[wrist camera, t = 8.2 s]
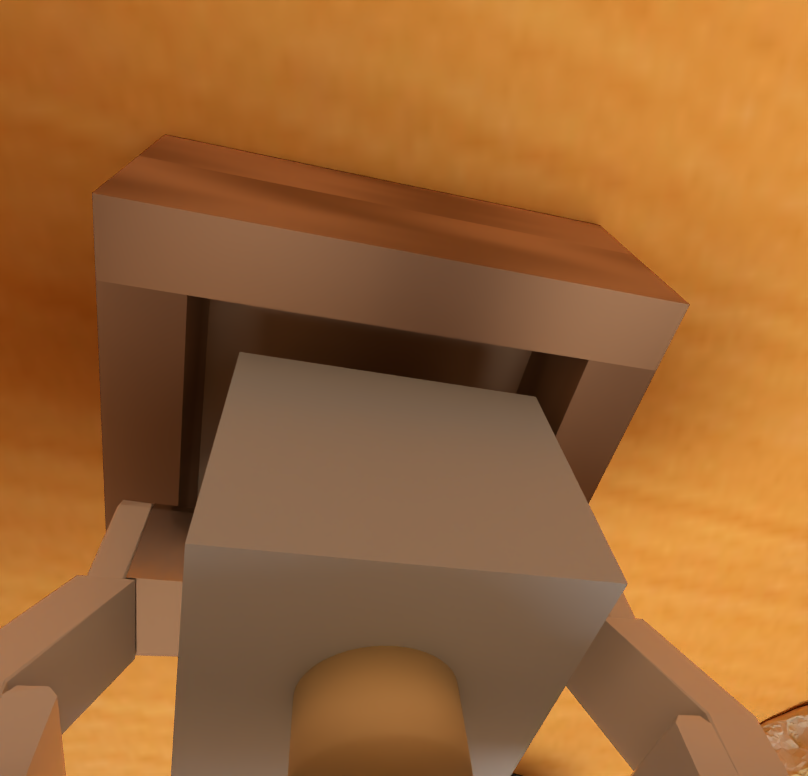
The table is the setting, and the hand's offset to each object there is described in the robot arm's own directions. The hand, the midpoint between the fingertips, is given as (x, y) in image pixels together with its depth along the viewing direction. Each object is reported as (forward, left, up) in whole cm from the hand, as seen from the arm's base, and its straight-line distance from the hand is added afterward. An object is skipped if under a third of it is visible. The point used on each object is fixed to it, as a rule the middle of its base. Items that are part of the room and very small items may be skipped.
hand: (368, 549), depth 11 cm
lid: (0, 0, -2) cm, 2 cm away
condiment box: (0, 0, -6) cm, 6 cm away
